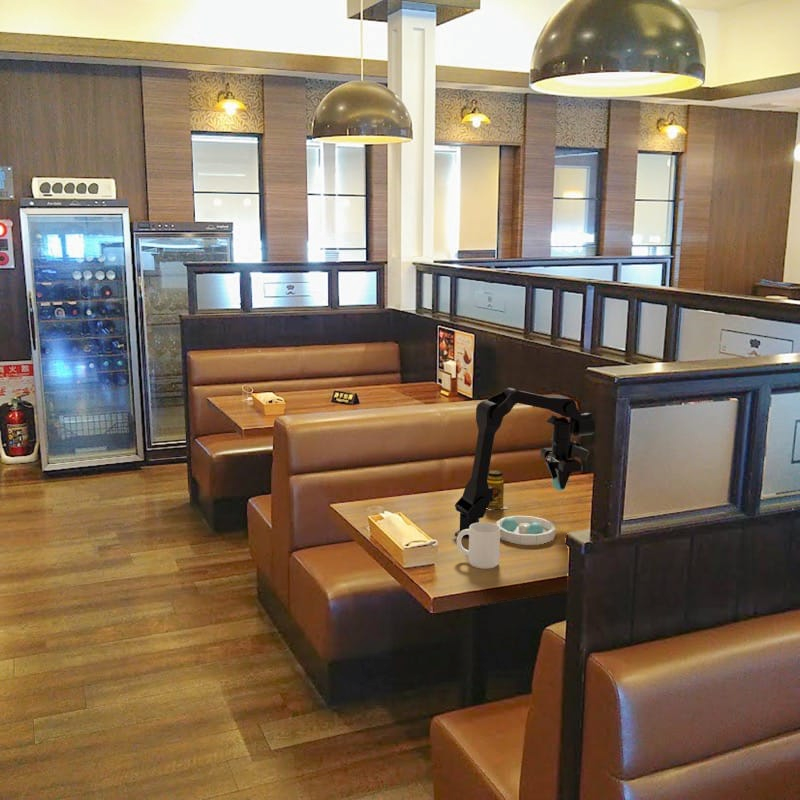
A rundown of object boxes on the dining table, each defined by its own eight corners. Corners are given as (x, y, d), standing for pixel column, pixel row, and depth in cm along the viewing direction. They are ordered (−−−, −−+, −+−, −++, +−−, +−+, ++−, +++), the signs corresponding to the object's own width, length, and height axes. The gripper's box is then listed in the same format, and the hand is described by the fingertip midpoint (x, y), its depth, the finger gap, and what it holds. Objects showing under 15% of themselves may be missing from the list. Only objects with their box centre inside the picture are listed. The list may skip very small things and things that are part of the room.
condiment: (487, 511, 271) (489, 475, 269) (477, 503, 279) (478, 468, 277) (508, 509, 274) (510, 473, 271) (498, 501, 282) (499, 466, 279)
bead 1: (512, 535, 247) (513, 521, 246) (499, 532, 250) (499, 518, 249) (519, 531, 251) (519, 517, 250) (505, 528, 253) (506, 514, 252)
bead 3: (563, 493, 257) (564, 479, 256) (549, 491, 259) (550, 477, 259) (568, 489, 261) (569, 476, 260) (555, 487, 263) (556, 473, 262)
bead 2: (543, 536, 247) (545, 522, 247) (541, 540, 243) (543, 526, 243) (528, 533, 249) (530, 519, 248) (526, 537, 244) (528, 523, 244)
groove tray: (540, 549, 239) (540, 539, 238) (486, 537, 248) (486, 527, 247) (563, 532, 253) (563, 522, 252) (511, 521, 262) (511, 512, 261)
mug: (450, 563, 228) (451, 527, 226) (461, 553, 235) (462, 518, 233) (493, 571, 223) (494, 534, 221) (502, 560, 230) (504, 524, 228)
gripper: (600, 443, 250) (597, 494, 253) (573, 429, 267) (571, 476, 271) (564, 445, 247) (562, 496, 250) (540, 430, 265) (538, 478, 268)
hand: (559, 486), depth 260 cm, fingers closed on bead 3, 4 cm apart
